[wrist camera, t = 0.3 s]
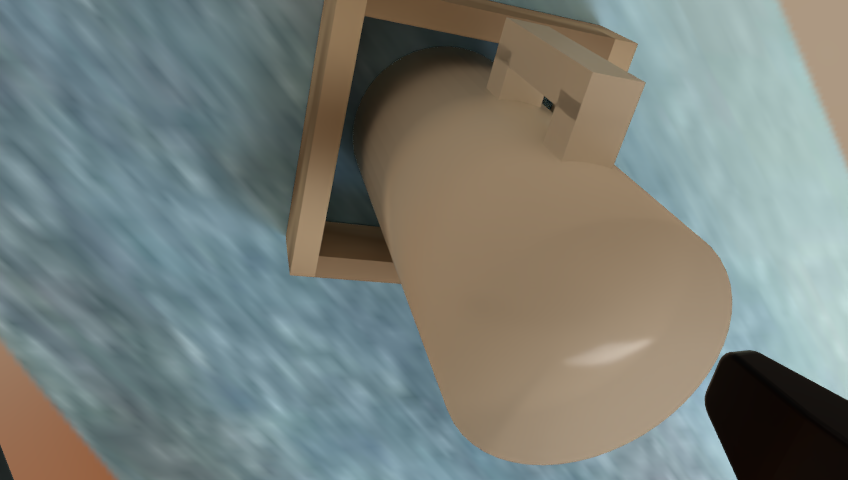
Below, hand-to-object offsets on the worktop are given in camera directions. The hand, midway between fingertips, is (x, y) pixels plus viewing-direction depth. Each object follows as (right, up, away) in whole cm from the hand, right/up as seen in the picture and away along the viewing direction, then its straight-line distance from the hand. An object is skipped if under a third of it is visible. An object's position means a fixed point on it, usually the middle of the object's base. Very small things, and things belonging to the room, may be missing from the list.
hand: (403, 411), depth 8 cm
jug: (+1, +6, +15) cm, 16 cm away
